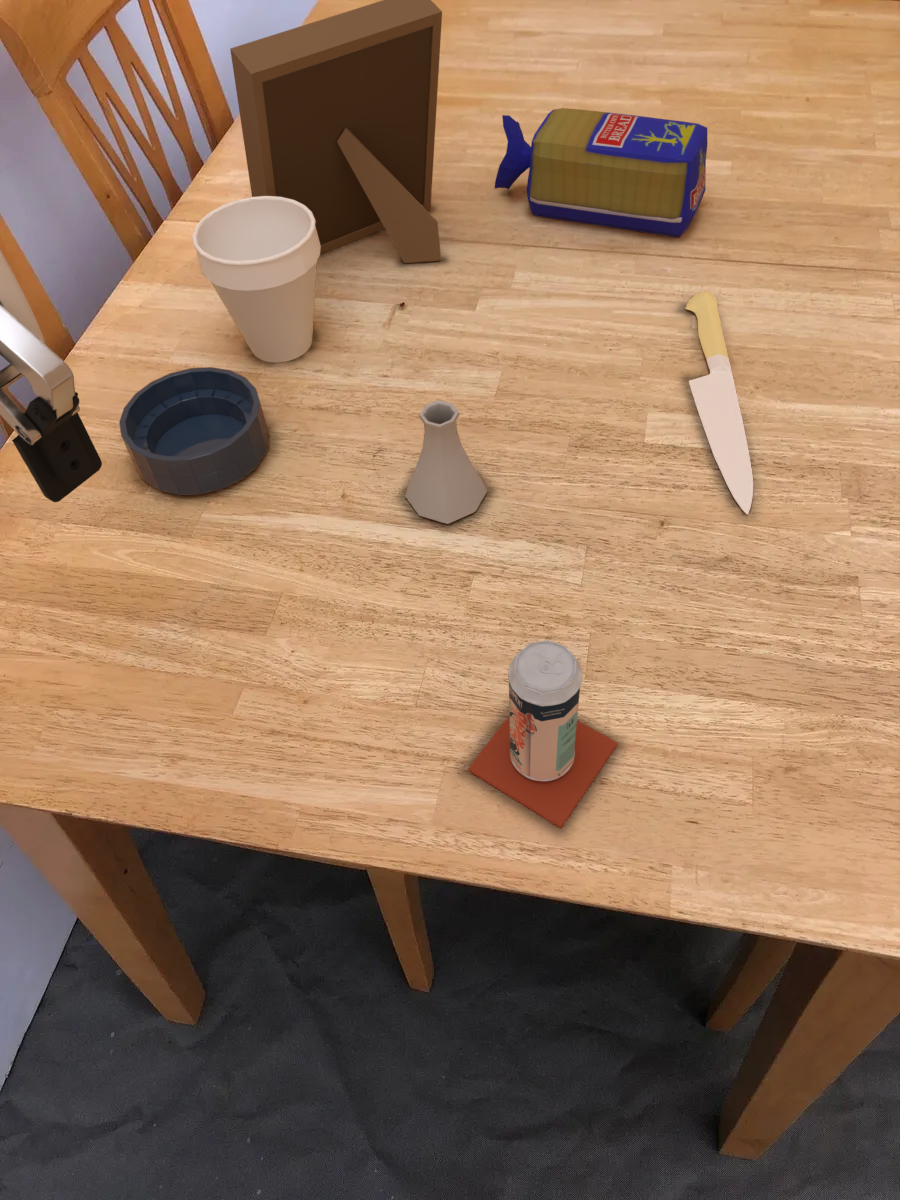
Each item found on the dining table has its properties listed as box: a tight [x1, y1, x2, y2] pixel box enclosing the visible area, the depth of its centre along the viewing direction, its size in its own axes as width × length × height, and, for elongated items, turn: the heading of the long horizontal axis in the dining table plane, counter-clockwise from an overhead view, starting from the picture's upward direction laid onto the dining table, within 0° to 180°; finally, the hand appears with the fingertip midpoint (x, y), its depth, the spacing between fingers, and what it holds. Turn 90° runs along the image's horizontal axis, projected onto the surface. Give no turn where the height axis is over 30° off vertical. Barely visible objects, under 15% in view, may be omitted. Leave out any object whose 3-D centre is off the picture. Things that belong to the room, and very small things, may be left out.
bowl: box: [118, 366, 271, 496], centre depth 90 cm, size 13×13×5 cm
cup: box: [191, 196, 321, 364], centre depth 96 cm, size 12×12×14 cm
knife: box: [684, 290, 754, 516], centre depth 92 cm, size 1×33×4 cm
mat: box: [467, 715, 618, 829], centre depth 68 cm, size 8×8×1 cm
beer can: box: [507, 639, 583, 781], centre depth 64 cm, size 5×5×12 cm
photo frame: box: [229, 0, 443, 264], centre depth 102 cm, size 15×22×25 cm
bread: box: [493, 107, 708, 238], centre depth 110 cm, size 10×25×10 cm, turn 68°
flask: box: [404, 399, 489, 525], centre depth 82 cm, size 7×7×10 cm
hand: (14, 447), depth 48 cm, fingers open, 9 cm apart
